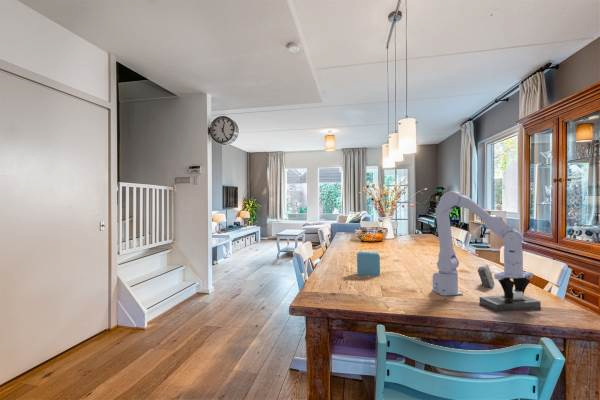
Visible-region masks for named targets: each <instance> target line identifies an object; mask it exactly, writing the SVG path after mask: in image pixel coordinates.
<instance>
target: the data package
mask: <svg viewBox="0 0 600 400" xmlns="http://www.w3.org/2000/svg"><path fill="white" fill-rule="evenodd" d="M356 273H357V275H358V276H362V275H363V276H366V277H368V276H370V277H379V276H380V274H381V256H380V253H379V252H377V251H376V252H375V251H374V252H370V251H359V252H357V253H356Z"/></svg>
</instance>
